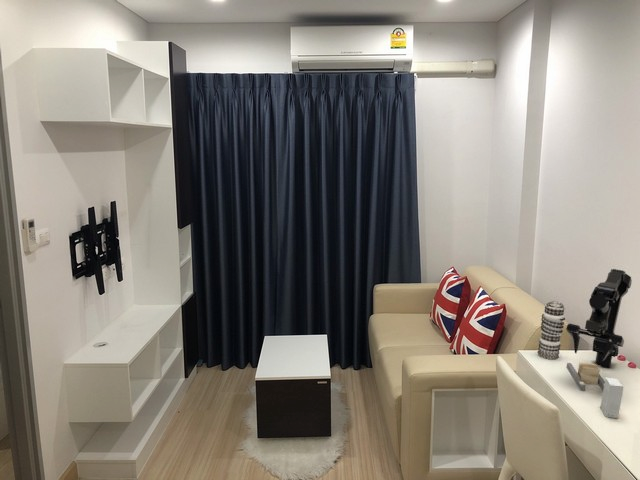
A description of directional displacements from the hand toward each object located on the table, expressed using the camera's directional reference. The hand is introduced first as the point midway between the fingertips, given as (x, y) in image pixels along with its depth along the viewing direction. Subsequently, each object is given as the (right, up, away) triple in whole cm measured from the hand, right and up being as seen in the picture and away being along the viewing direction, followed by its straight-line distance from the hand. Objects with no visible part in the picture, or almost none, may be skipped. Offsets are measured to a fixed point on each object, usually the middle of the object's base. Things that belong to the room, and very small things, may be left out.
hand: (588, 356), depth 195 cm
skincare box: (+2, -18, -10) cm, 20 cm away
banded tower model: (-1, -8, +33) cm, 34 cm away
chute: (+5, -13, +12) cm, 18 cm away
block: (+5, -12, +12) cm, 17 cm away
